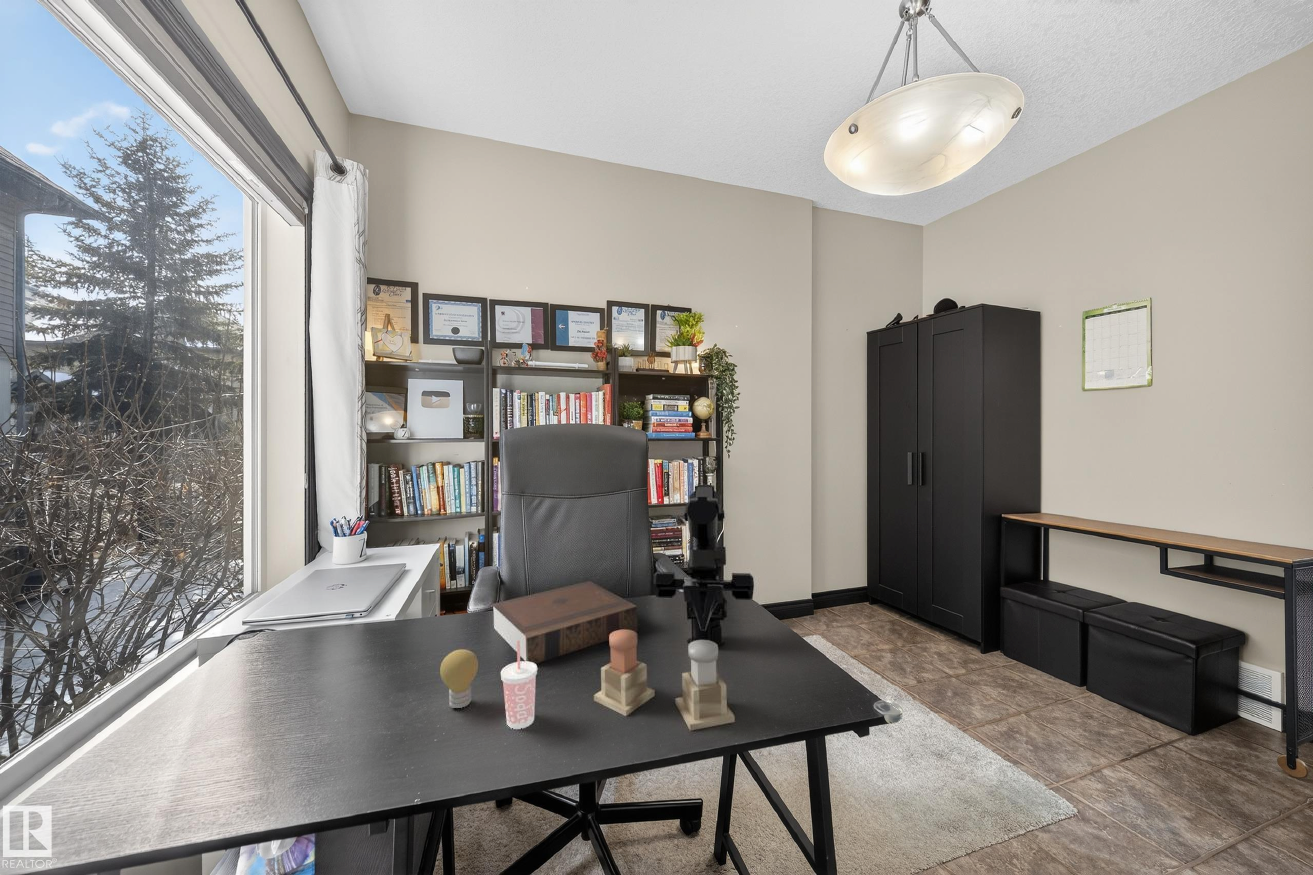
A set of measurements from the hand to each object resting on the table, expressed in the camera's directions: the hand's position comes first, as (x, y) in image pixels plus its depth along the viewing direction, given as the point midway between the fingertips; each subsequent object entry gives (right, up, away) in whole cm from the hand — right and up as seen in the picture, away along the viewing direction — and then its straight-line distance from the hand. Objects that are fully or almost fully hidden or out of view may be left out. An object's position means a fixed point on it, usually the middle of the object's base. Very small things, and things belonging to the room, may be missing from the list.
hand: (703, 629), depth 86 cm
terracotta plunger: (-14, -9, +3) cm, 17 cm away
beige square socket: (0, -14, -1) cm, 14 cm away
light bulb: (-44, -15, +2) cm, 47 cm away
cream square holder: (-14, -14, +4) cm, 20 cm away
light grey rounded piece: (0, -8, -2) cm, 9 cm away
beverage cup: (-32, -15, -3) cm, 35 cm away
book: (-32, -14, +34) cm, 49 cm away
